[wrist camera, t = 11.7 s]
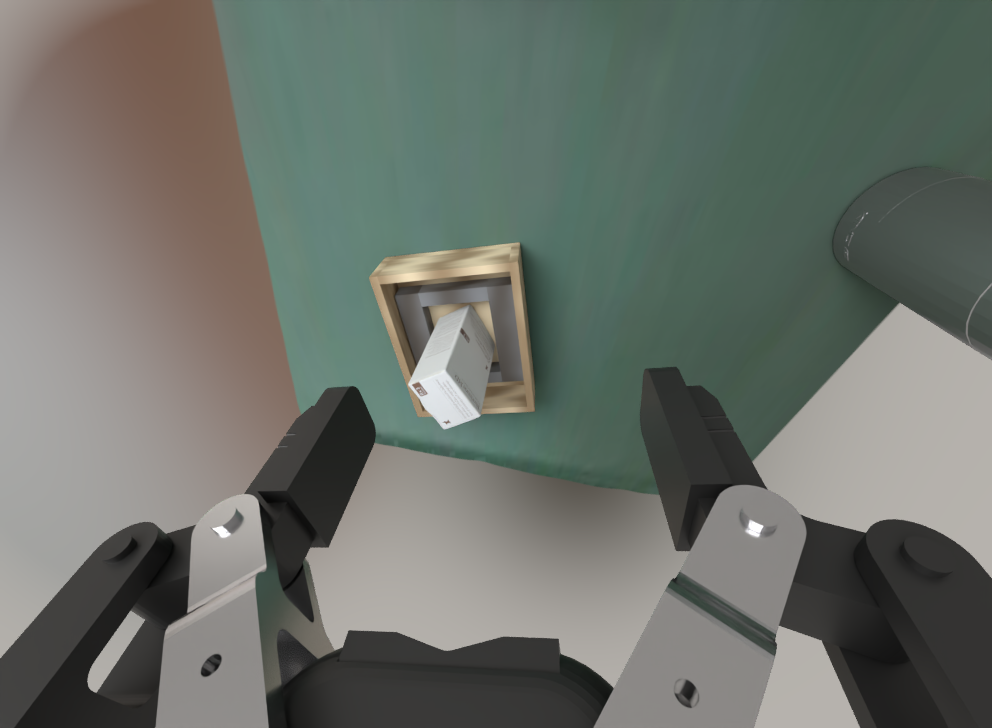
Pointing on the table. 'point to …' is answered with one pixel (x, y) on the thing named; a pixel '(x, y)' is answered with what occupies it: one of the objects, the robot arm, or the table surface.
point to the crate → (448, 287)
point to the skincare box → (455, 368)
